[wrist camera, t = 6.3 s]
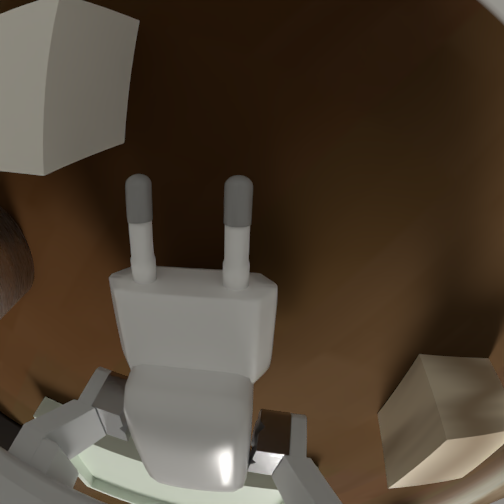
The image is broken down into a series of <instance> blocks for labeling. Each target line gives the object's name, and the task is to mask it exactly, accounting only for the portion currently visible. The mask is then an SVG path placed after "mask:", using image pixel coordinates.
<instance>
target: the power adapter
mask: <svg viewBox="0 0 504 504" xmlns="http://www.w3.org/2000/svg"><path fill="white" fill-rule="evenodd" d="M125 196H126V213H127V222H128V225H129V237H130V248H131V258H130V261H131V267H128V268H126V269H123V270H121V271H118V272H115V273H113V274H111V275H110V277H109V283H110V289H111V295H112V300H113V306H114V311H115V316H116V322H117V326H118V331H119V336H120V341H121V345H122V349H123V352H124V355H125V357H126V360H127V362H128V364H129V367H130V369H131V371H130V374H129V377H128V379H127V382H126V385H125V394H124V414H125V418H126V421H127V425H128V427H129V430H130V433H131V436H132V439H133V441H134V444H135V446H136V448H137V451H138V453H139V456H140V458H141V460H142V462H143V464H144V466H145V469H146V470H147V472H148V474H149V475H150V477H152V478H153V479H154V480H156V481H157V482H159V483H162V484H166V485H170V486H174V487H180V488H186V489H193V490H202V491H212V492H234V491H236V490H238V489H240V488H242V487H243V485H244V483H245V480H246V478H247V472H248V465H249V454H250V441H251V427H252V411H253V386H254V383H255V382H256V381H257V380H258V379H259V378H260V377H261V376H262V375H263V374H264V373H265V372H266V371H267V369H268V368H269V366H270V362H271V357H272V348H273V338H274V329H275V319H276V308H277V295H278V287H277V284H276V283H274V282H273V281H271V280H270V279H268V278H267V277H265V276H264V275H262V274H261V273H251V272H249V271H250V262H249V241H250V225H251V224H252V203H253V183H252V181H251V180H250V179H249V178H248V177H246V176H243V175H234V176H231V177H230V178H228V179H227V180H226V182H225V185H224V225H225V239H224V261H223V270H222V269H204V268H187V267H170V266H156V258H155V255H154V248H153V233H152V220H153V209H152V183H151V180H150V178H149V177H148V176H146V175H144V174H134V175H132V176H130V177H129V178H128V179H127V180H126V183H125Z"/></svg>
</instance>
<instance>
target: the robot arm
mask: <svg viewBox="0 0 504 504" xmlns="http://www.w3.org/2000/svg"><path fill="white" fill-rule="evenodd" d="M127 379H128V376H125V375H122V374H119V373H116V372H114V371H111V370H108V369H105V368H103V367H98V368H97V369H96V370H95V372H94V373H93V375H92V377H91V378H90V380H89V382H88V384H87V385H86V387H85V389H84V390H83V392H82V394H81V395H80V397H79V399H78V400H75V399H73V400H71V401H69V402H67V403H65V404H64V405H62V406H60V407H58V408H56V409H54V410H52V411H49V412H47V413H45V414H43V415H41V416H39V417H37V418H35V419H33V420H31V421H29V422H27V423H25V424H24V425H23V427H22V428H21V430H20V432H19V433H18V435H17V437H16V438H15V440H14V442H13V443H12V445H11V447H10V449H9V450H8V451H6V450H5V449H3V448H2V447H0V504H106V503H104V502H101V501H99V500H97V499H94V498H92V497H90V496H87V495H85V494H83V493H81V492H79V491H77V490H75V489H73V487H74V484H75V482H76V479H77V477H78V475H79V473H78V470H77V469H76V468H75V466H74V465H73V464H72V462H71V461H70V460H71V459H72V458H74V457H75V456H77V455H78V454H79V453H81V452H82V451H84V450H85V449H87V448H88V447H90V446H91V445H93V444H94V443H96V442H97V441H98V440H100V439H101V438H103V437H104V436H106V434H108V435H110V436H113V437H116V438H119V439H122V440H125V441H128V440H129V437H130V435H131V433H130V430H129V427H128V425H127V421H126V418H125V414H124V394H125V385H126V382H127ZM251 445H252V450H251V452H250V455H249V465H248V472H254V473H260V474H266V475H272V476H271V477H272V479H273V481H274V483H275V485H276V487H277V489H278V491H279V493H280V494H281V496H282V498H283V500H284V502H285V504H342V502H341V501H340V500H339V498H338V497H337V495H336V494H335V493H334V491H333V490H332V488H331V487H330V485H329V484H328V483H327V481H326V480H325V478H324V477H323V475H322V474H321V472H320V471H319V470H318V468H317V467H316V465H315V464H314V462H313V461H312V459H311V458H307V457H306V451H307V417H306V415H302V414H294V413H289V412H281V411H273V410H266V409H261V410H260V412H259V415H258V420H257V421H256V423H255V426H254V430H253V435H252V441H251Z"/></svg>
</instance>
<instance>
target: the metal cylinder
mask: <svg viewBox="0 0 504 504" xmlns="http://www.w3.org/2000/svg"><path fill="white" fill-rule="evenodd" d="M33 281H34V265H33V259H32V255H31V252H30V249H29V246H28V244H27V241H26V239H25V237H24V235H23V233H22V231H21V230H20V228H19V226H18V225H17V223H16V222H15V221H14V219H13V218H12V217H11V216H10V215H9V214H8V213H7V212H6V211H5V210H4V209H3V208H1V207H0V319H1V318H2V317H3V316H4V315H5V314H6V313H7V312H8V311H9V310H10V309H11V308H12V307H13V306H14V305H15V304H16V303H17V302H18V301H19V300H20V299H21V298H22V297H23V296H24V295H25V294H26V293H27V292H28V291H29V290H30V288H31V287H32V284H33Z"/></svg>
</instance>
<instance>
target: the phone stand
mask: <svg viewBox="0 0 504 504" xmlns="http://www.w3.org/2000/svg"><path fill="white" fill-rule="evenodd" d="M21 428H22V426H20V425H19V424H17V423H16V422H14V421H13V420H11V419H9V418H8V417H7V416H5V415H4V414H2V413H1V412H0V447H2V448H3V449H5V450H6V451H8V450H9V449H10V447H11V445H12V443H13V442H14V440H15V438H16V437H17V435H18V433H19V432H20V430H21Z"/></svg>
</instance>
